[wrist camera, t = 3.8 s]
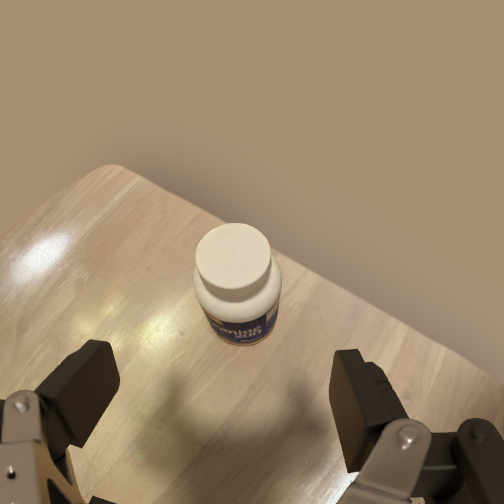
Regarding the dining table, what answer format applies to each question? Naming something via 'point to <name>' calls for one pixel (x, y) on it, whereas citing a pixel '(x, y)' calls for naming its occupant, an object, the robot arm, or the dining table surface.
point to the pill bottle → (237, 283)
